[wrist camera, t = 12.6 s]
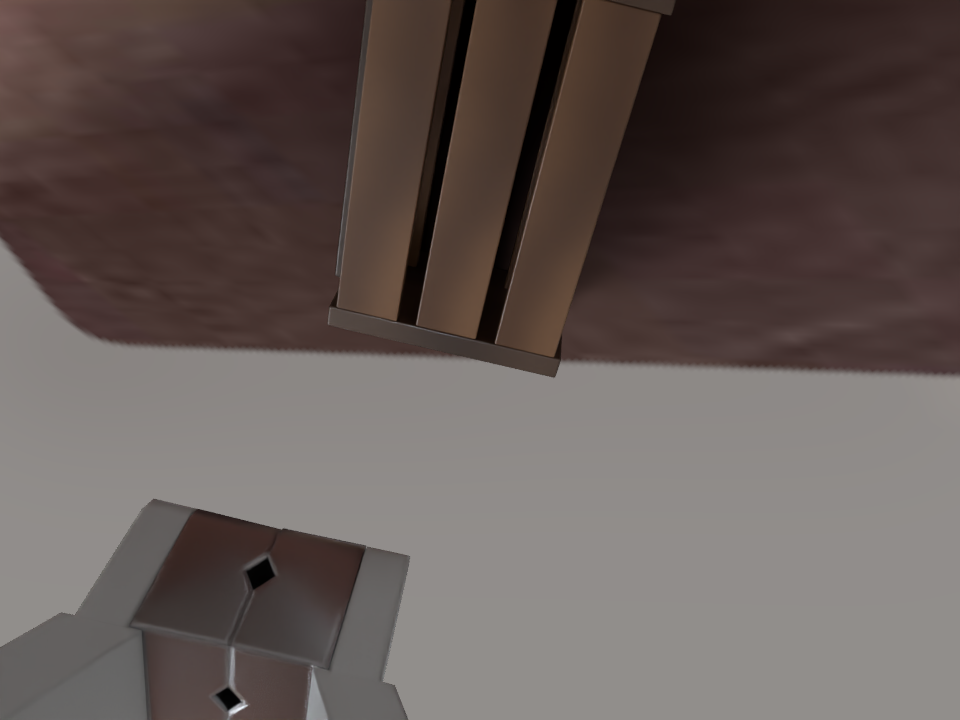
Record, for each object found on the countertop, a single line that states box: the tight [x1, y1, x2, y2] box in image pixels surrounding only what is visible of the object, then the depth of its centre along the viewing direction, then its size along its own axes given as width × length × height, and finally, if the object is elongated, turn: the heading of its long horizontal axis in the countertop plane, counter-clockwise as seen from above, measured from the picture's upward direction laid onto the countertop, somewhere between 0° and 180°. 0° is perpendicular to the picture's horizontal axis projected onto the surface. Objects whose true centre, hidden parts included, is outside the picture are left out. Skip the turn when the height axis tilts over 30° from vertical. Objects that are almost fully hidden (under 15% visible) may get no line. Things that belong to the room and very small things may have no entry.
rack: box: [328, 0, 676, 377], centre depth 33 cm, size 10×16×7 cm, turn 169°
